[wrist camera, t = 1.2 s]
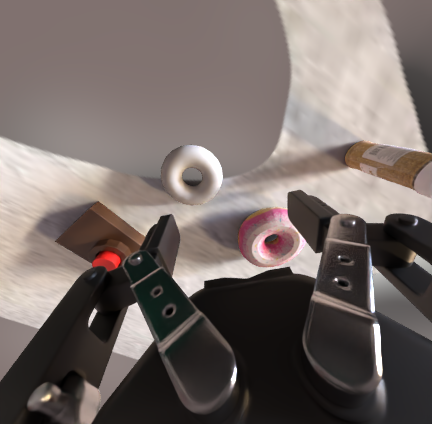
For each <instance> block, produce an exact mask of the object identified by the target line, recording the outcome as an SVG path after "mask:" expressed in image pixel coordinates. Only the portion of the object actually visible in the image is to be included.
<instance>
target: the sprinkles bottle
mask: <svg viewBox="0 0 432 424" xmlns="http://www.w3.org/2000/svg"><path fill="white" fill-rule="evenodd" d="M345 161H346V164H347V166H349V167H350V168H355V169H358V170H361V171H363V172H365V173H368V174H371V175H374V176H376V177H379V178H382V179H385V180H387V181H390V182H394V183H397V184H400V185H402V186H405V187H408V188H411V189H413V190H415V191H416V192H417V193H419V194H421V195H424V196H427V197H430V198H432V153H428V152H423V151H420V150H414V149H409V148H403V147H397V146H391V145H385V144H376V143H371V142H369V141H361V142H358V143H356V144H354V145H353V146H352V147H351V148H350V149H349V150H348V152H347V154H346V156H345Z"/></svg>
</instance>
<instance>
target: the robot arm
mask: <svg viewBox="0 0 432 424" xmlns="http://www.w3.org/2000/svg"><path fill="white" fill-rule="evenodd" d="M287 213H288V218H289V220H290V222H291V223H292V224H293V226H294V227H295V228H296V229H297V231H298V232H299V233H300V234H301V236H302V237H303V238H304V239H305V241H306V242H307V243H308V244H309V246H310V247H311V248H312V249H313V251H314V252H315V253H321V252H322V257H321V261H320V265H319V269H318V274H317V278H316V279H315V278H312V277H309V276H306V275H302V274H293V272H292V271H291V269H290V267H285V268H279V269H273V270H268V271H265V272H263V273H261V274H258V275H256V276H253V277H251V278H248V279H242V278H220V279H214V280H208V281H204V288H203V289H201V290H199V291H197V292H196V293H194V294H193V295H192V296H190V297H189V298H188V297H187V295H186V294H185V293H184V292H183V291H182V289H181V288H180V287H179V286H178V284H177V283H176V282H175V281H174V280H173V278H172V275H173V270H174V266H175V261H176V257H177V253H178V248H179V244H180V233H179V230H178V227H177V225H176V222H175V219H174V216H173V215H172V214H170V215H165V216H161V217H160V219H159V221H158V223H157V224H155V225H154V226H152V227H151V228H150V230H149V231H148V233H147V235H146V237H145V239H144V241H143V243H142V245H141V247H140V249H139V251H136V252H134V253H132V254H130V255H129V256H127V257H126V258H125V260H124V261H123V263H122V266H121V267H118V268H116V269H113V270H111V271H107V269H106V268H105V267H104V266H96V267H93V268H91V269H89V270H87V271H86V272H84V273H83V274H82V275H81V276H80V277H79V278H78V279H77V280H76V281H75V283H74V284H73V285H72V287H71V288H70V289H69V291H68V292H67V293H66V295H65V296H64V297H63V299H62V300H61V301H60V303H59V304H58V305H57V307H56V308H55V309H54V311H53V312H52V313H51V315H50V316H49V317H48V319H47V320H46V321H45V323H44V324H43V325H42V327H41V328H40V329H39V331H38V332H37V334H36V335H35V336H34V338H33V339H32V340H31V341H30V343H29V344H28V346H27V347H26V348H25V349H24V351H23V352H22V353H21V355H20V356H19V358H18V359H17V360H16V361H15V363H14V364H13V365H12V367H11V368H10V369H9V371H8V372H7V374H6V375H5V376H4V378H3V379H2V380H1V382H0V424H432V341H431V340H429V339H427V338H425V337H424V336H422V335H420V334H418V333H416V332H414V331H412V330H411V329H409V328H407V327H405V326H403V325H401V324H399V323H398V322H396V321H394V320H392V319H390V318H388V317H386V316H385V315H383V314H381V313H379V312H377V311H375V310H374V293H373V277H372V266H374V267H375V268H376V269H377V270H378V271H379V272H380V273H381V274H382V275H383V276H384V277H385V278H386V279H388V280H389V281H390V282H391V283H392V284H393V285H394V286H395V287H396V288H397V289H398V290H399V291H400V292H401V293H402V294H403V295H404V296H405V297H406V298H407V299H408V300H409V301H410V302H411V303H412V304H413V305H414V306H415V307H416V308H417V309H418V310H419V311H420V312H422V314H423V315H424V316H425V317H426V318H428V319H429V320H430V321H431V322H432V275H431V274H429V273H428V272H427V271H425V270H424V269H423V268H421V267H420V266H419V265H417V264H416V263H415V262H414V259H415V257H416V255H417V254H418V255H419V256H420V257H422V258H423V259H425V260H426V261H427V262H429V263H430V264H431V265H432V223H430V222H428V221H427V220H425V219H422V218H420V217H417V216H414V215H409V214H390V215H388V216H386V218H385V221H384V223H366V222H365V221H364V220H363V219H362V218H360V217H358V216H355V215H351V214H339V213H338V212H337V211H335V210H334V209H332V208H331V207H330V206H327V204H326V203H324V202H323V201H321V200H320V199H319V198H317V197H314V196H311V195H309V196H308V195H307V194H306V193H304V192H303V191H302V190H297V191H292V192H289V193H288V207H287ZM136 302H137V303H138V305H139V307H140V309H141V312H142V314H143V316H144V318H145V320H146V322H147V325H148V327H149V329H150V331H151V333H152V336H153V338H154V341H153V343H152V344H151V345H150V346H149V348H148V349H147V350H146V351H145V353H144V354H143V355H142V357H141V358H140V359H139V360H138V362H137V363H136V364H135V365H134V367H133V368H132V369H131V371H130V372H129V373H128V374H127V376H126V377H125V378H124V379H123V381H122V382H121V383H120V385H119V386H118V387H117V388H116V390H115V391H114V392H113V393H112V395H111V396H110V397H109V399H108V400H107V401H106V402H105V404H104V405H103V407H102V408H101V409H100V410H99V408H100V403H101V395H100V392H99V390H98V389H99V386H100V383H101V380H102V377H103V375H104V372H105V369H106V366H107V364H108V361H109V358H110V356H111V353H112V350H113V347H114V345H115V342H116V339H117V336H118V334H119V331H120V328H121V325H122V323H123V320H124V317H125V314H126V312H127V309H128V306H130V305H132V304H134V303H136ZM94 308H95V309H96V310H97V313H96V315H95V317H94V319H93V321H92V323H91V325H90V327H88V321H89V317H90V315H91V313H92V312H93V310H94Z"/></svg>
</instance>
